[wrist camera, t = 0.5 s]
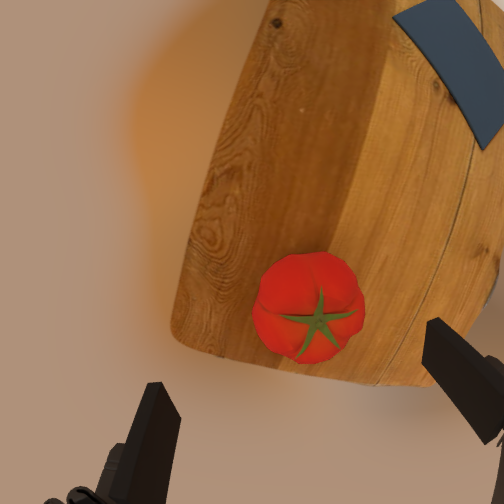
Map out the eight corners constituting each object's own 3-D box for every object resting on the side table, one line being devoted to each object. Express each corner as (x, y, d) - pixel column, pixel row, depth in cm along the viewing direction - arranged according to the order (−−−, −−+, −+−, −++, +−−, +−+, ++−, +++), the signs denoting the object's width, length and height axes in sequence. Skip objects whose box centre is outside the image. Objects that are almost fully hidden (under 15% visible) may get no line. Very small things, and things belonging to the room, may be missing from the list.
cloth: (391, 17, 21) (393, 16, 20) (446, -8, 18) (447, -9, 18) (481, 149, 26) (483, 150, 25) (517, 101, 23) (519, 100, 23)
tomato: (312, 348, 32) (328, 390, 24) (231, 306, 30) (229, 347, 23) (368, 275, 29) (401, 304, 22) (288, 221, 27) (305, 239, 20)
